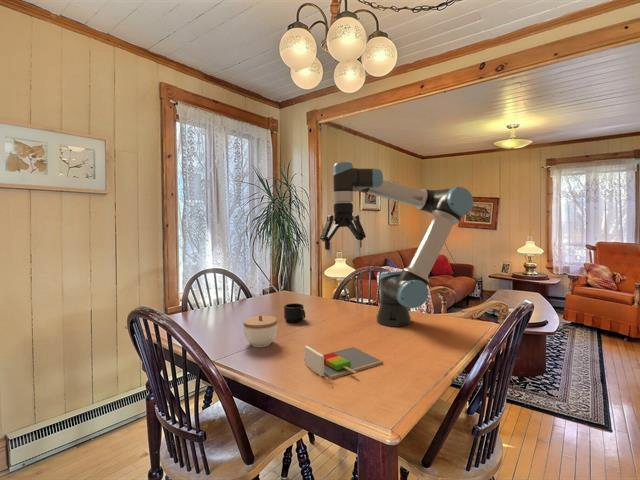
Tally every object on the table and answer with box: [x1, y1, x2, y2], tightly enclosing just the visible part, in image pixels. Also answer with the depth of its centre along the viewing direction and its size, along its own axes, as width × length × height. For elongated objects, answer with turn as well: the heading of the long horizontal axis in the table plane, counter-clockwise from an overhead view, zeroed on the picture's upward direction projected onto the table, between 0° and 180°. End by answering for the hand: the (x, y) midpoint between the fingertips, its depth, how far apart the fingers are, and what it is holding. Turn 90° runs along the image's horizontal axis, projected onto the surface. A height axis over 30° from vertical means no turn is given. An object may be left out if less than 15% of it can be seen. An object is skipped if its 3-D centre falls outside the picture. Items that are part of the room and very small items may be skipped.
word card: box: [304, 345, 325, 377], centre depth 108 cm, size 1×10×6 cm, turn 32°
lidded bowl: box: [243, 314, 278, 348], centre depth 131 cm, size 13×13×11 cm
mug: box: [283, 302, 306, 323], centre depth 161 cm, size 12×9×7 cm
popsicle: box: [323, 353, 358, 374], centre depth 108 cm, size 6×15×2 cm, turn 34°
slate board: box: [304, 346, 384, 380], centre depth 114 cm, size 20×16×1 cm
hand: (343, 257), depth 137 cm, fingers open, 13 cm apart
